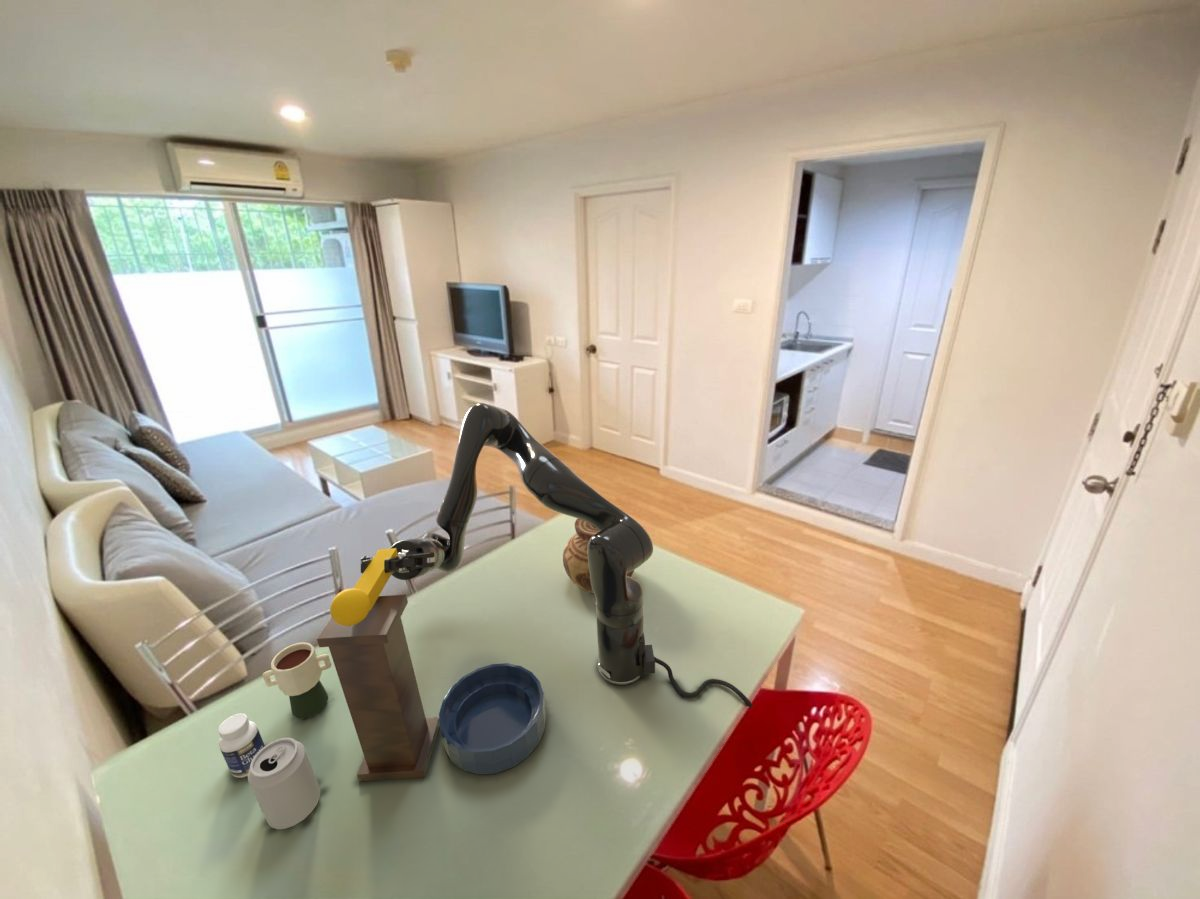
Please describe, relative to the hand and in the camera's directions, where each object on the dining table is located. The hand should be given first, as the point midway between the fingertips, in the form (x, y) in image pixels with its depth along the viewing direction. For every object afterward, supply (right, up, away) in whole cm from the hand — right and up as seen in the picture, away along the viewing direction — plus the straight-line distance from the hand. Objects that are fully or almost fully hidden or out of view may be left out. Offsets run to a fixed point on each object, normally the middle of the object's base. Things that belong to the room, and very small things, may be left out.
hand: (375, 566), depth 80 cm
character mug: (-20, -31, +16) cm, 40 cm away
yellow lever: (0, -4, -2) cm, 4 cm away
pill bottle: (-24, -36, +6) cm, 44 cm away
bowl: (+18, -32, +10) cm, 38 cm away
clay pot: (+37, -15, +48) cm, 63 cm away
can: (-12, -38, -2) cm, 40 cm away
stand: (+2, -34, +6) cm, 35 cm away
